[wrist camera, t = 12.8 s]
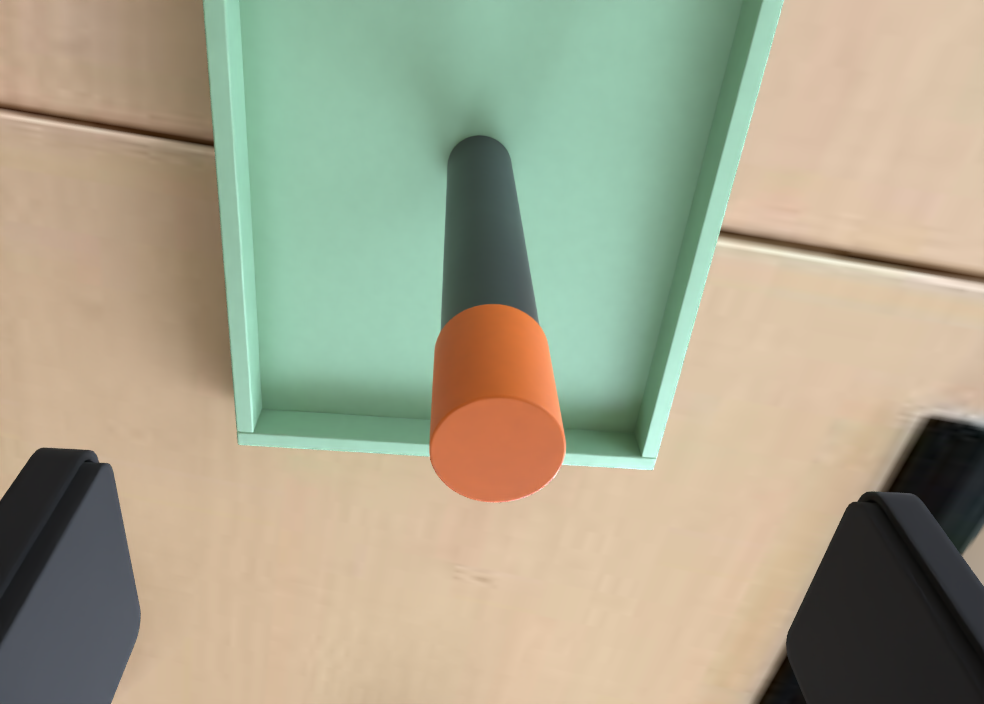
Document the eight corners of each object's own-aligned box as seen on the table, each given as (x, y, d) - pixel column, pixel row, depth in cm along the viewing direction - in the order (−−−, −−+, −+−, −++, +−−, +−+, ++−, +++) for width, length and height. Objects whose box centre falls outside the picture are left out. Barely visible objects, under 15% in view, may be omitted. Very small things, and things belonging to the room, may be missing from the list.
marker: (446, 128, 24) (433, 391, 12) (519, 134, 24) (577, 401, 12) (441, 197, 25) (425, 500, 13) (510, 202, 25) (555, 507, 13)
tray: (202, -308, 19) (175, -326, 17) (814, -222, 20) (848, -231, 18) (250, 410, 30) (237, 445, 28) (642, 436, 31) (653, 471, 29)
